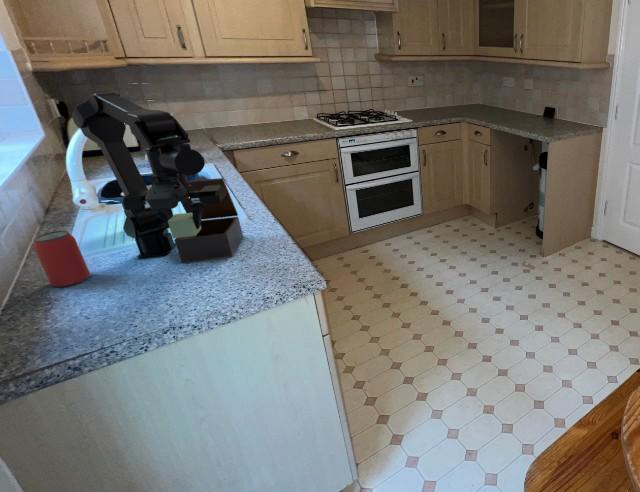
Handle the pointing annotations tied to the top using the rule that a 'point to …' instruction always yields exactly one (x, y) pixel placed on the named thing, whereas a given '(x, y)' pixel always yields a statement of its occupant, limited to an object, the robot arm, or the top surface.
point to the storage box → (211, 240)
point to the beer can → (61, 258)
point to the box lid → (212, 209)
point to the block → (183, 225)
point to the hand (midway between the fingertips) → (186, 229)
